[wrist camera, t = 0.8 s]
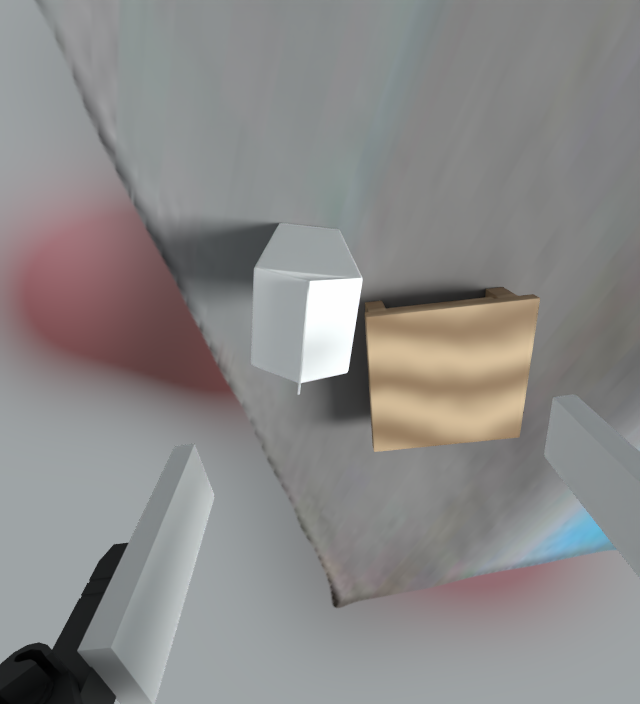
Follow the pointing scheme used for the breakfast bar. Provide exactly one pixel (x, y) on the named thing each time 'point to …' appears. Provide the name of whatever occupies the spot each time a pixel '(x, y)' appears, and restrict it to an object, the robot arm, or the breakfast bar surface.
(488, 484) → the breakfast bar surface
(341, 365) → the milk
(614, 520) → the robot arm
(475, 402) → the light brown square platform
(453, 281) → the breakfast bar surface
